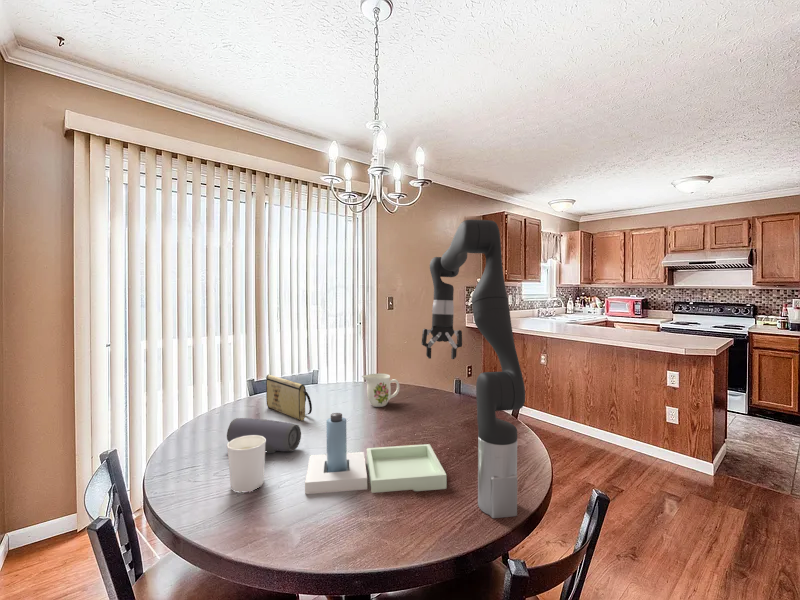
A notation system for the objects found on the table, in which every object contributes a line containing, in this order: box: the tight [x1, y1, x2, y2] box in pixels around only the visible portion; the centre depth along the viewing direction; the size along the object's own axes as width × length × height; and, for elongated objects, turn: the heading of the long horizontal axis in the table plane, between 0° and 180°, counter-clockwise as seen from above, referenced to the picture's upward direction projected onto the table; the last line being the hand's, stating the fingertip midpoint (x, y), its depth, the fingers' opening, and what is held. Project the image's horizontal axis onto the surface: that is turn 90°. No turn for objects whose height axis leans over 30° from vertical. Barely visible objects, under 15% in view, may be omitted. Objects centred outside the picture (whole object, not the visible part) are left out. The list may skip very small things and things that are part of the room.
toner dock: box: [304, 451, 368, 495], centre depth 108 cm, size 16×16×4 cm
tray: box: [366, 443, 447, 494], centre depth 111 cm, size 20×20×4 cm
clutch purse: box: [265, 373, 313, 422], centre depth 164 cm, size 30×7×15 cm, turn 48°
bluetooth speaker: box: [226, 417, 302, 453], centre depth 127 cm, size 23×9×10 cm, turn 74°
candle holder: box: [226, 435, 266, 492], centre depth 104 cm, size 10×10×12 cm
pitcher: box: [361, 373, 400, 408], centre depth 175 cm, size 11×18×14 cm, turn 111°
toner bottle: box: [325, 412, 348, 473], centre depth 108 cm, size 6×6×18 cm
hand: (441, 358), depth 136 cm, fingers open, 8 cm apart
